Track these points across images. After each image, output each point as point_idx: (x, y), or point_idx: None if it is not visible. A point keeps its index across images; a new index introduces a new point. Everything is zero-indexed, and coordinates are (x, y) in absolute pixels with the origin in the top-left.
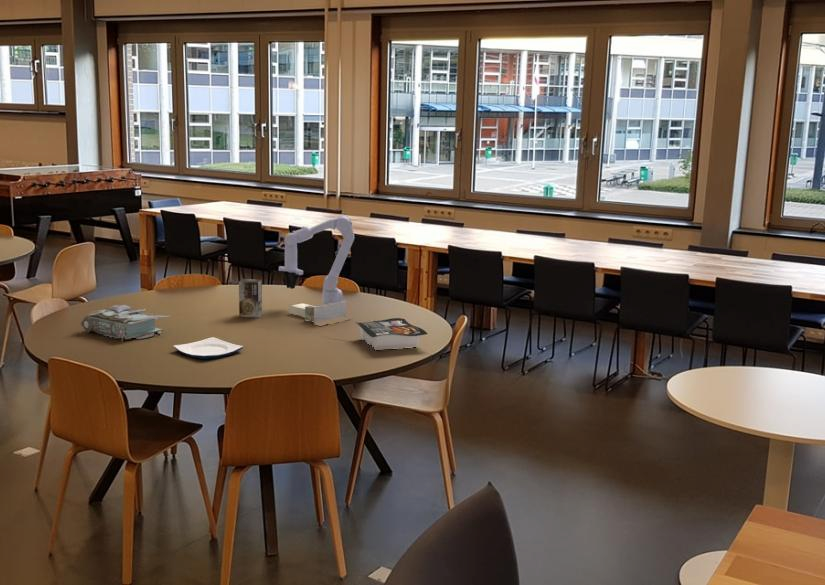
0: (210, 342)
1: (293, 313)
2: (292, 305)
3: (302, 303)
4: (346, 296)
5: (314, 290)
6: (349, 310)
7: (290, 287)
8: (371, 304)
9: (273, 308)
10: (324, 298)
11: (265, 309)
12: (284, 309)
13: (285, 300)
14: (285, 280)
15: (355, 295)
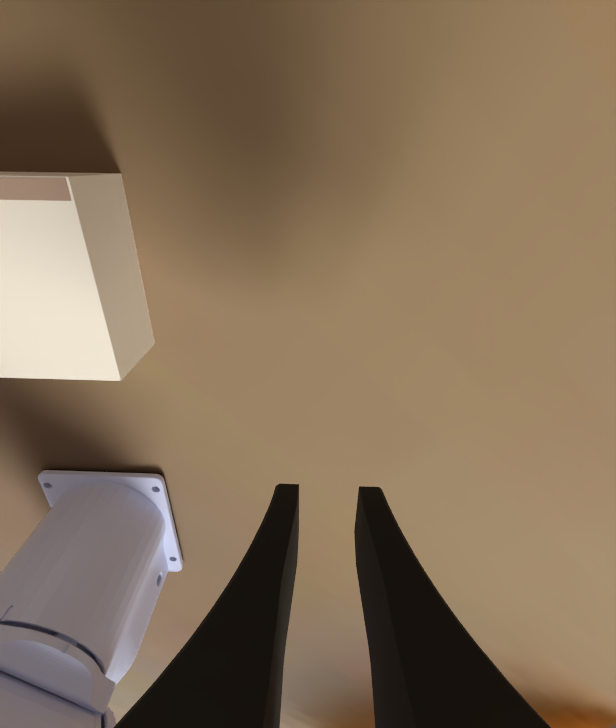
0: None
1: (48, 172)
2: (72, 224)
3: (112, 375)
4: (312, 694)
5: (528, 695)
6: None
7: (293, 495)
8: None
9: (424, 231)
10: (54, 551)
11: (463, 122)
12: (313, 281)
13: (527, 492)
14: (421, 592)
15: (299, 716)
